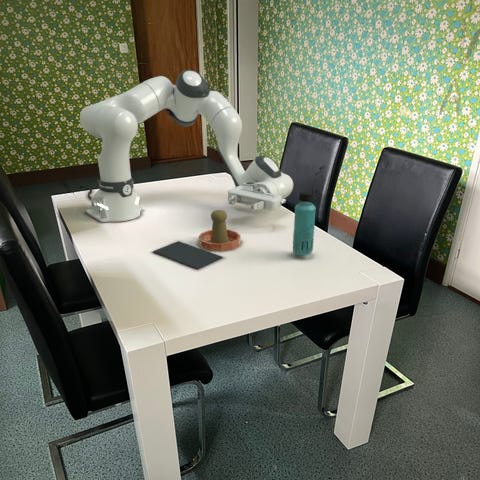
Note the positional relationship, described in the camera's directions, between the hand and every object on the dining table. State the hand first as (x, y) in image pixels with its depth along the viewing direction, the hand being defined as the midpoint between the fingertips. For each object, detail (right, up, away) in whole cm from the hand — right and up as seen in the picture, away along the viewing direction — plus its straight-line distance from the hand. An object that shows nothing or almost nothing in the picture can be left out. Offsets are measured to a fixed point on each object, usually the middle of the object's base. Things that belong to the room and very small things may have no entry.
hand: (241, 204), depth 158 cm
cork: (-7, -14, -3) cm, 16 cm away
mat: (-17, -19, -12) cm, 28 cm away
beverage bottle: (+19, -19, -12) cm, 30 cm away
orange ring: (-7, -14, -3) cm, 16 cm away
